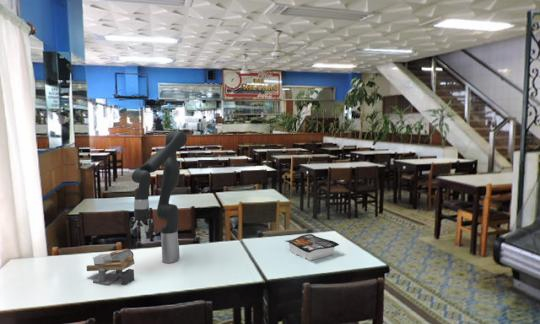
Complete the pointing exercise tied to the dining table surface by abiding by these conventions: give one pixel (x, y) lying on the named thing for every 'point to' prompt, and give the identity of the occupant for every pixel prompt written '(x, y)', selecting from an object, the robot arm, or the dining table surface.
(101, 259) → the block
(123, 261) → the balance beam
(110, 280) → the pivot stand
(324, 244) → the food packaging
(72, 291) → the dining table surface
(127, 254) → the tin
